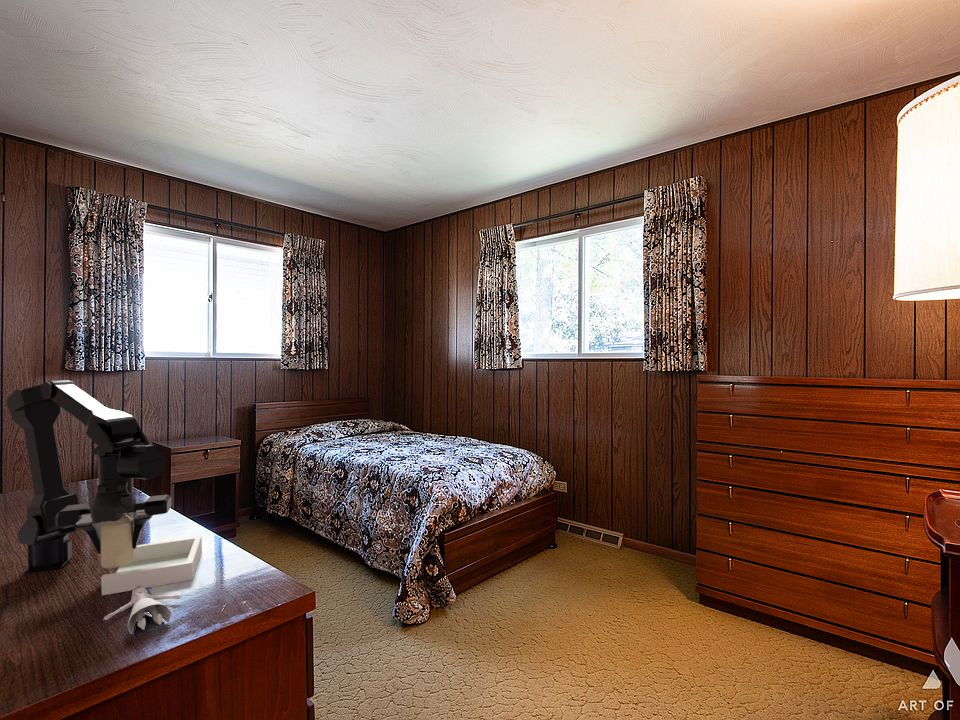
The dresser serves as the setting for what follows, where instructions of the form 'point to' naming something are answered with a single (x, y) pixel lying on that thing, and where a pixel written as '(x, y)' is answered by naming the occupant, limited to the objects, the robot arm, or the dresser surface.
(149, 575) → the box
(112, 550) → the candle
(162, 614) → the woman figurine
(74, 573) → the dresser surface
